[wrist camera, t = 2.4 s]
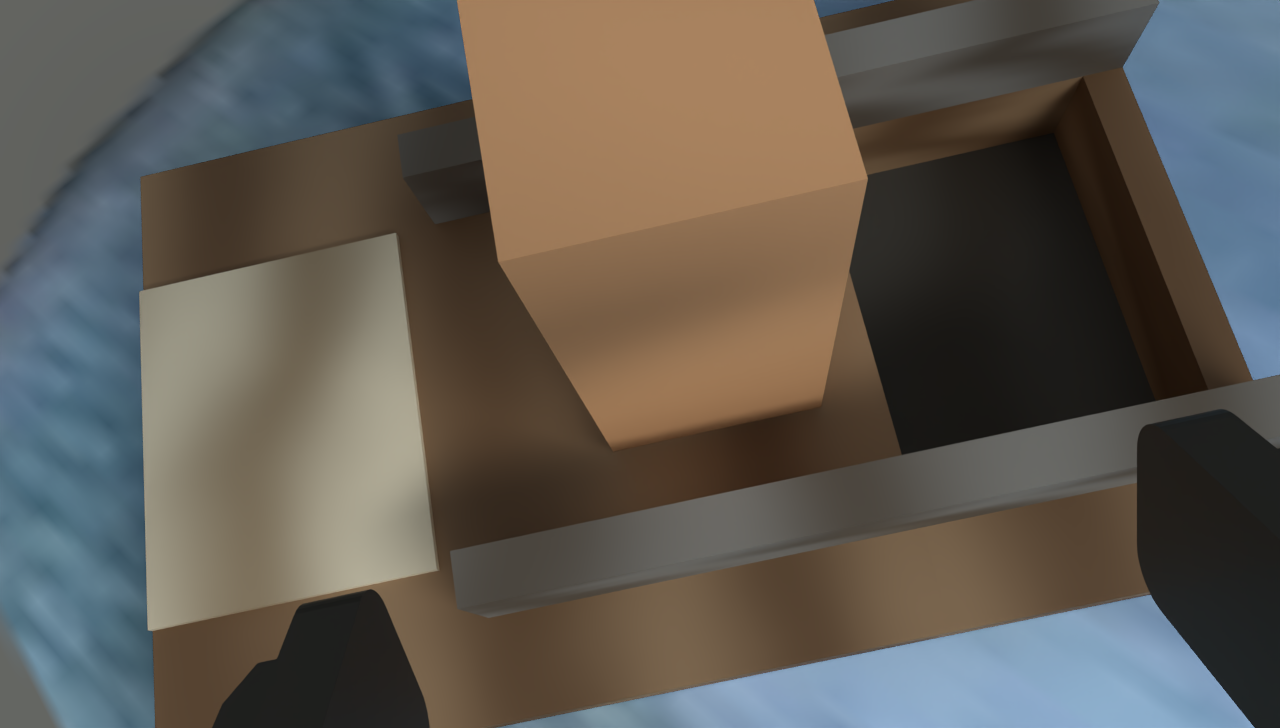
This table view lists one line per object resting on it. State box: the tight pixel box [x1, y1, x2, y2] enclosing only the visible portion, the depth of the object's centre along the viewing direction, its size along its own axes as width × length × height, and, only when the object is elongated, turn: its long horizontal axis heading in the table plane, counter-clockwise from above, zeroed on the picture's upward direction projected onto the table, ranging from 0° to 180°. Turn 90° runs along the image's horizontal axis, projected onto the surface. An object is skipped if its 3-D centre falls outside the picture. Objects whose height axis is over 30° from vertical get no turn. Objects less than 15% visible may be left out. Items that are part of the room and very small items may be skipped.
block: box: [457, 0, 868, 452], centre depth 19 cm, size 5×5×11 cm
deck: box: [139, 0, 1280, 728], centre depth 25 cm, size 26×16×6 cm, turn 101°
